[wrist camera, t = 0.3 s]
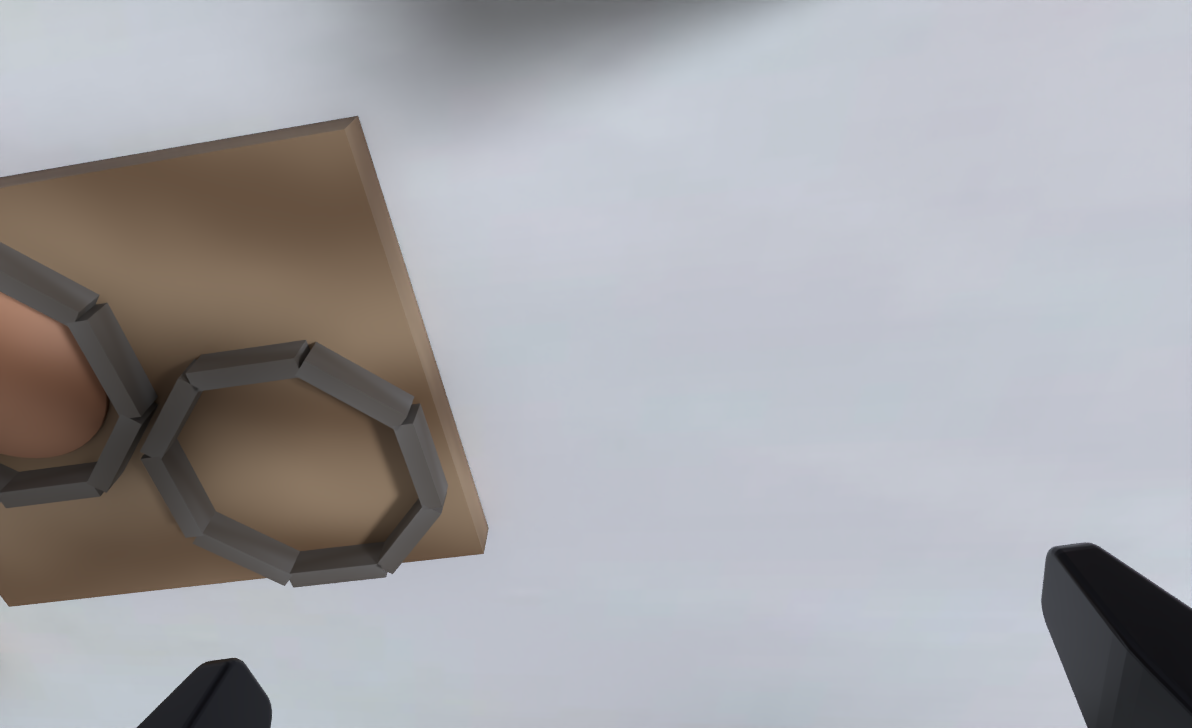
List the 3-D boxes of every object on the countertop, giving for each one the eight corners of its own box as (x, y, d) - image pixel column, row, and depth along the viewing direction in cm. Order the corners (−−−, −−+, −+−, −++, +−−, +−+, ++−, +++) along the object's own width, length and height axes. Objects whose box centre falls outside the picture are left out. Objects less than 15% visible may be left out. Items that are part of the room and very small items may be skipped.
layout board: (488, 528, 28) (479, 576, 26) (30, 580, 30) (-10, 629, 28) (358, 116, 21) (332, 141, 19) (-236, 218, 22) (-314, 250, 21)
